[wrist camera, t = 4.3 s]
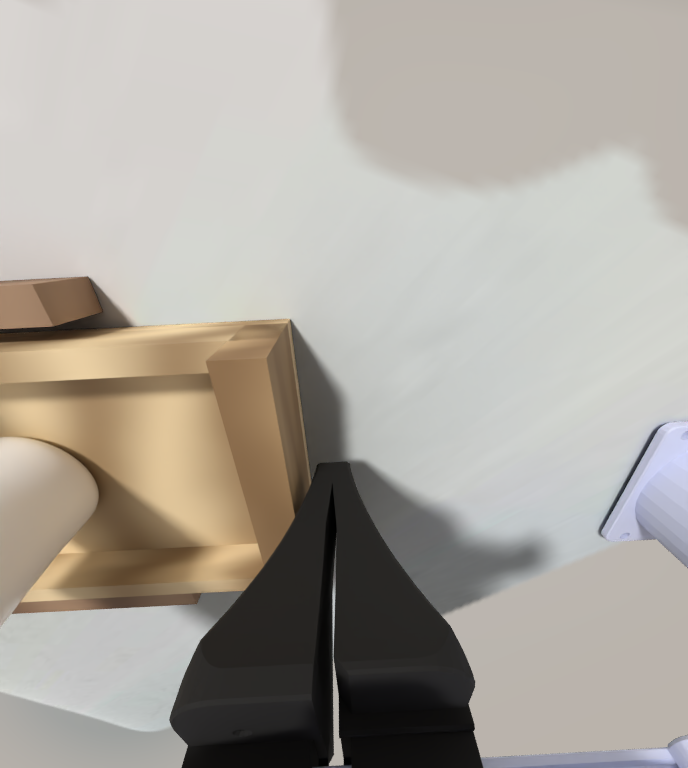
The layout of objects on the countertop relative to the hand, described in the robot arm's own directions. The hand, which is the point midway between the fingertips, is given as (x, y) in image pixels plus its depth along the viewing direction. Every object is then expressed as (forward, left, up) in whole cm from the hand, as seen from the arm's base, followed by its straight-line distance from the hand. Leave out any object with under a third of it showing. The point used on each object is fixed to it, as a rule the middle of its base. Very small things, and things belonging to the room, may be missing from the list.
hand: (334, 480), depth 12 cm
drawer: (+10, 0, -2) cm, 10 cm away
